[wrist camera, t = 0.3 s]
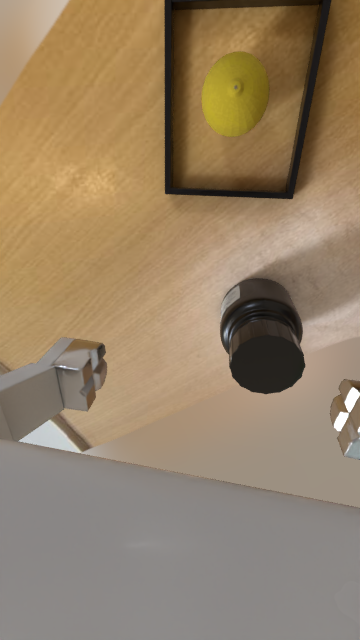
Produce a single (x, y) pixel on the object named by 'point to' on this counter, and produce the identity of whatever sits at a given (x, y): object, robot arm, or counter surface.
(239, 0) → the black square frame
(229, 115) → the lemon
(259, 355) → the ink bottle
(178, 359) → the counter surface
